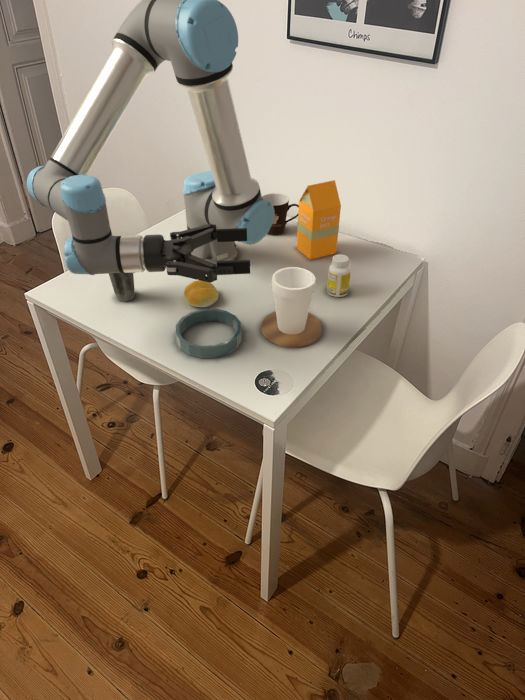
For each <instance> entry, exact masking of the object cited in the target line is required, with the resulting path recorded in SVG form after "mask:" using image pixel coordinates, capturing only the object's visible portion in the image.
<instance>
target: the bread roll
mask: <svg viewBox="0 0 525 700" xmlns="http://www.w3.org/2000/svg"><path fill="white" fill-rule="evenodd" d="M183 295H184V297H185V299H186V302H187V304H188V305H189V306H191V307H195V308H207V307H210V306H212V305H214V304H215V303H216V302H217V301H218V299H219V291H218V289H217V288H216V286H215V285H214V284H213V283H212V282H211V283H210V282H205V281H201V280H194V281H192V282H190V283H188V284H187V285H186V286H185V288H184V291H183Z"/></svg>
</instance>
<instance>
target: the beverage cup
mask: <svg viewBox="0 0 525 700" xmlns="http://www.w3.org/2000/svg"><path fill="white" fill-rule="evenodd" d="M111 233H112V236H114V235H113V231H111ZM108 277H109V279H110V282H111V286H112V290H113V292H114V295H115V297H116V300H117V301H118V302H123V303H125V302H131V301H132V300H133V299H134V298H135V279H134V273H108Z"/></svg>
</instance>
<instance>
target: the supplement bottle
mask: <svg viewBox="0 0 525 700" xmlns="http://www.w3.org/2000/svg"><path fill="white" fill-rule="evenodd" d="M349 262H350V257H349V256H348V255H346V254H342V253H340V254H335V255H333V256H332V260H331V264H330V265H329V266H328V273H327V283H326V285H327V286H326V292H327V294H328V295H330V296H331V297H335V298H342V297H346V296H347V295H348V293H349V287H350V278H351V271H352V270H351V266H350V264H349Z"/></svg>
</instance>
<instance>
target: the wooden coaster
mask: <svg viewBox="0 0 525 700" xmlns="http://www.w3.org/2000/svg"><path fill="white" fill-rule="evenodd" d="M322 332H323V325H322V322H321V321H320V319H319V318H318V317H317V316H316V315H314V314H313V313H311V312H308V316H307V321H306V325H305V329H304V331H302V332H301V333H299V334H294V335H289V334H285V333H283V332H281V331H280V330H279V328H278V324H277V317H276V311H273V312H271V313H270V314H267V316H266V317H264V319H263V320H262V322H261V333H262V335H263V337H264V338H265V339H266V340H267V341H268V342H270V343H272V344H274V345H276V346H278V347H282V348H289V349H290V348H293V349H295V348H303V347H307V346H310V345H312V344H313V343H315V342H317V341H318V340H319V339H320V337H321V335H322Z"/></svg>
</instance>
